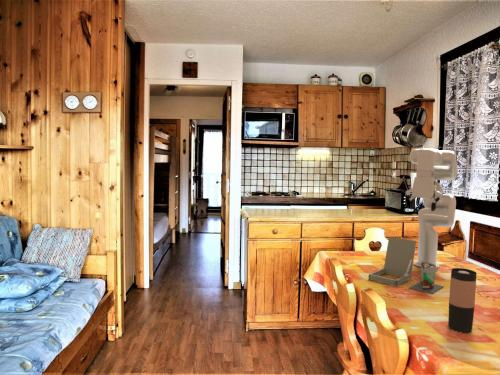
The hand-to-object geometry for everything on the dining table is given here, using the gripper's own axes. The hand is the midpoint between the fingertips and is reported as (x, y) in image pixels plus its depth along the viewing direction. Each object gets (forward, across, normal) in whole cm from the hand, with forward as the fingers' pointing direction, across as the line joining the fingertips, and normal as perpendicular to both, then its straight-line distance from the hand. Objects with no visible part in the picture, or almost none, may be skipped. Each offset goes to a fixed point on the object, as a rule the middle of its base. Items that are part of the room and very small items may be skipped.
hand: (422, 209), depth 191 cm
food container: (+33, -10, +14) cm, 37 cm away
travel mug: (+34, -33, +52) cm, 70 cm away
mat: (+33, -9, +15) cm, 38 cm away
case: (+33, +8, +13) cm, 37 cm away
